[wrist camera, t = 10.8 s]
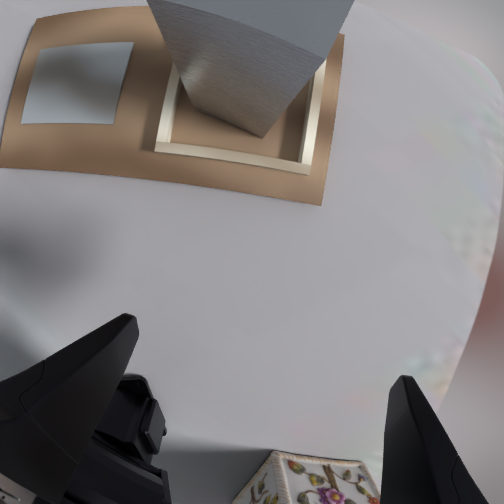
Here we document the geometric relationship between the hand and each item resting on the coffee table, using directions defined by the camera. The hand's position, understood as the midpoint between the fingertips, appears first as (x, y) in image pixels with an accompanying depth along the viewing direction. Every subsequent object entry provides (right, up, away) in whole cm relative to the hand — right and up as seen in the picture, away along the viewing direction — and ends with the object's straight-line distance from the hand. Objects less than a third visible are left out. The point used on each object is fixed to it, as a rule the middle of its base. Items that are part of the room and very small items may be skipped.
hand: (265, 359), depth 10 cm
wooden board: (-7, +14, +9) cm, 18 cm away
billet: (-1, +13, +8) cm, 16 cm away
